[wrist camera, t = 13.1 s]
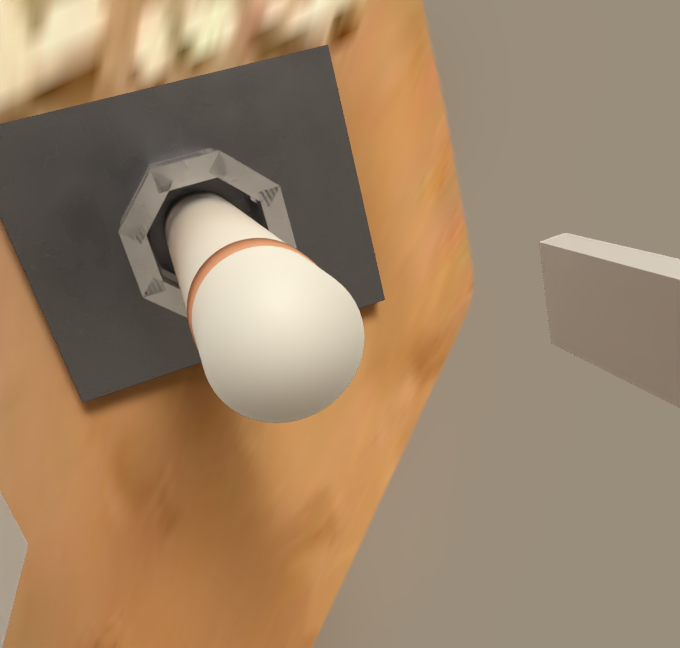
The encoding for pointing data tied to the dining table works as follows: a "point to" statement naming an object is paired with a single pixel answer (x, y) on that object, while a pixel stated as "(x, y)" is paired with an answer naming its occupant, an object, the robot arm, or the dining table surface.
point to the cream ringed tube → (261, 313)
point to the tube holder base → (162, 191)
